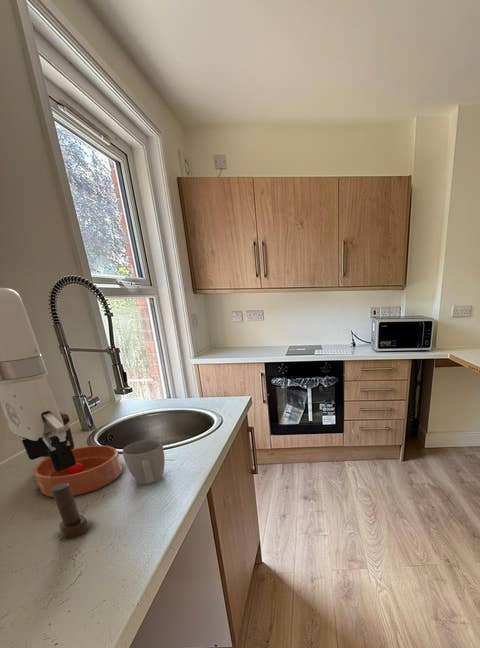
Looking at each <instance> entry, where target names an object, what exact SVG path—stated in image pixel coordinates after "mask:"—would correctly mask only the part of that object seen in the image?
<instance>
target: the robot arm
mask: <svg viewBox="0 0 480 648" xmlns="http://www.w3.org/2000/svg"><path fill="white" fill-rule="evenodd" d="M30 321H31V320H30V318H29V316H28V313H27V310H26V307H25V305H24V302H23V299H22V297H21V296H20V294H19V293H18V292H17V291H16V290H14V289H13V288H9V287H0V406H1V409H2V412H3V415H4V417H5V421H6V423H7V425H8V428H9V430H10V432H12V433H13V434H14V435H17V436H19V438H20V439H21V443H22V445H23V447H24V450H25V452H26V454H27V457H28V459H29V460H32V461H33V460H37V459H39V458H41V457H42V456H45V455H48V454H49V457H50V459H51V462H52V464H53V467H54V470H55V471H57V472H59V471H61V470H64V469H66V468H69V467H71V466H74V465H75V464H76V461H75V459H74V456H73V453H72V450H71V447H70V442H69V441H68V437H67V436H68V435H66V428H65V426H64V424H63V420H62V417H61V414H60V412H61V411H60V410H59V407H58V404H57V402H56V399H55V397H54V395H53V392H52V390H51V388H50V386H49V384H48V381H47V380H46V377H47V376H48V375H49V372H48V370H47V367H46V364H45V361H44V359H43V358H44V357H43V355H42V353H41V350H40V347H39V344H38V342H37V339H36V336H35V331H34V330H33V327H32V324H31V322H30ZM59 411H60V412H59ZM50 430H53V431H50ZM47 431H50V432H47ZM44 432H47V433H44ZM53 436H55V437H53ZM50 437H53V441H52V442H51V440H50V439H49V438H50ZM48 448H49V449H50V450H49V449H48Z"/></svg>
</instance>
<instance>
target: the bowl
mask: <svg viewBox="0 0 480 648" xmlns="http://www.w3.org/2000/svg"><path fill="white" fill-rule="evenodd" d="M72 453H73V456H74V459H75V461H76V462H78V463H80V464H82V465H83V467H84V471H83V472H80V473H77V474H71V475H69V474H68V473H67V468H66V469H64V470H61V471H59V472H57V471H55V470H54V467H53V464H52V462H51V459H50V457H49V458H47V459H45V460H42V461H40V462H39V463H38V464H37V465H35V467H34V468H33V474H34V477H35V479H36V482H37V485H38V487H39V489H40V492H41V494H43V495H45V496H47V497H50V498H52V497H53V494H52V492H51V488H52V487H53V486H55V485H57V484H61V483H68V484H69V487H70V489H71V492H72V495H73V497H75V496H79V495H84V494H86V493H90V492H93V491H96V490H99V489H101V488H103V487H105V486H107V485H109V484H111V483H112V482H114V481H115V480H116V479H117V478H118V477H119V476H120V475H121V474H122V471H123V467H122V463H121V460H120V456H119V453H118V450H117V449H116V448H115V447H113V446H110V445H104V444H103V445H101V444H99V445H98V444H97V445H87V446H81V447H74V449H72ZM53 498H54V497H53Z"/></svg>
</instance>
